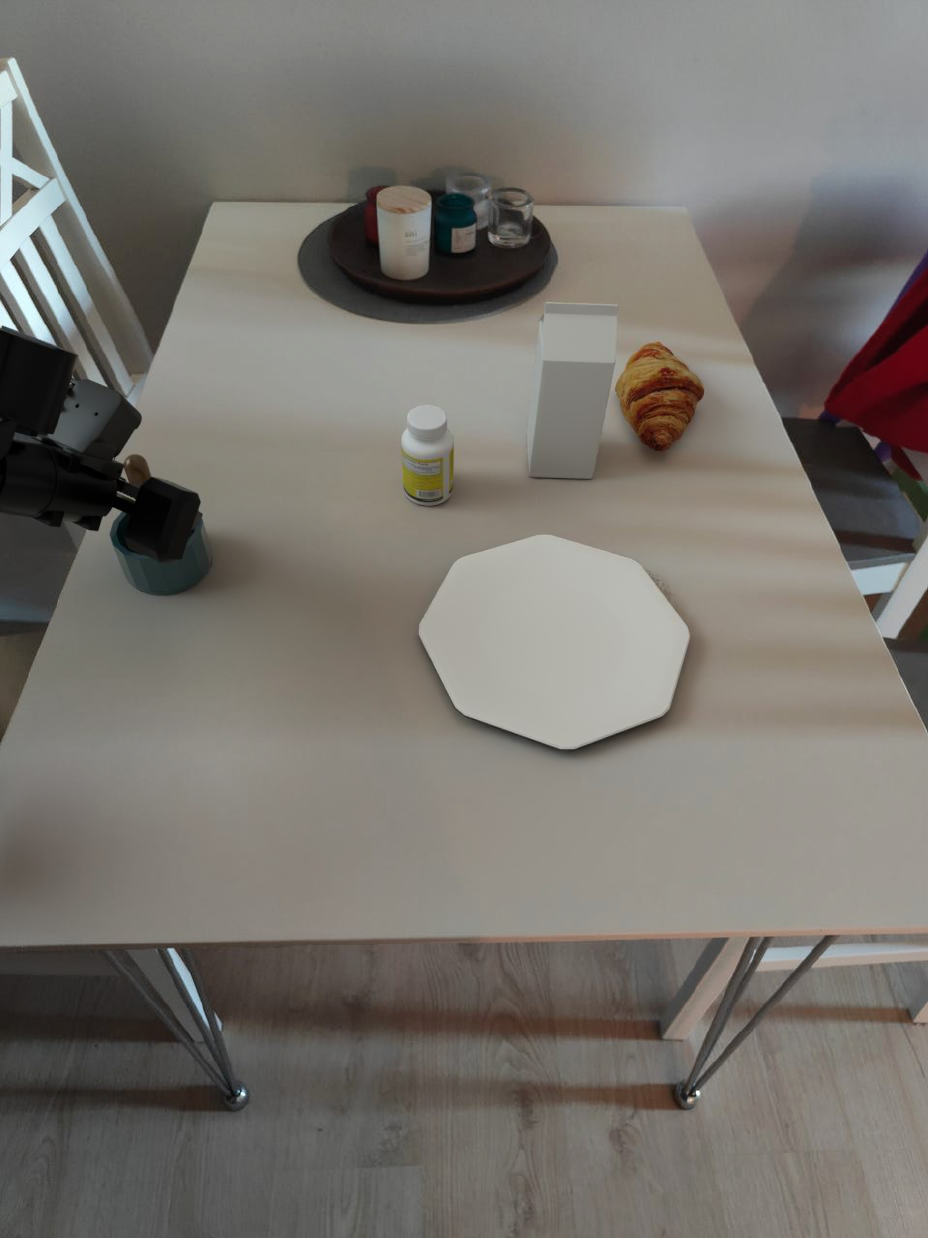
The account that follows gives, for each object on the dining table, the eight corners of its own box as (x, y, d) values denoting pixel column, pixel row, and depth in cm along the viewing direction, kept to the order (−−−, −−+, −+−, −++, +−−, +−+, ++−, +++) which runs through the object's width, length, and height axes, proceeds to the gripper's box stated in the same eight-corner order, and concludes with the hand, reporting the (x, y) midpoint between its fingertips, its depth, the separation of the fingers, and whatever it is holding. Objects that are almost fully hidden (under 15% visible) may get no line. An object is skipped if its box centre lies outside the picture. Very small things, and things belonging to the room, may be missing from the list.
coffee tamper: (170, 580, 82) (134, 477, 72) (138, 565, 83) (98, 461, 73) (197, 554, 84) (166, 451, 74) (165, 540, 86) (131, 436, 76)
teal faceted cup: (117, 596, 81) (101, 560, 77) (133, 534, 87) (119, 497, 83) (206, 594, 82) (195, 558, 78) (217, 532, 87) (207, 495, 83)
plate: (390, 587, 83) (390, 576, 82) (601, 525, 90) (604, 514, 89) (490, 787, 70) (491, 779, 68) (730, 697, 76) (735, 688, 75)
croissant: (624, 378, 112) (604, 327, 107) (700, 352, 108) (684, 298, 103) (629, 483, 98) (607, 430, 93) (717, 457, 95) (699, 400, 89)
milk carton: (592, 480, 94) (623, 325, 80) (528, 478, 94) (547, 322, 79) (587, 439, 99) (615, 285, 84) (526, 437, 99) (543, 283, 84)
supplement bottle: (429, 467, 95) (429, 393, 87) (463, 491, 92) (466, 417, 85) (392, 489, 92) (389, 415, 85) (426, 514, 90) (426, 441, 82)
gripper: (155, 416, 61) (270, 452, 76) (-31, 340, 66) (111, 387, 81) (108, 561, 63) (230, 568, 77) (-70, 475, 68) (76, 497, 83)
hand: (161, 501), depth 80 cm, fingers open, 9 cm apart
